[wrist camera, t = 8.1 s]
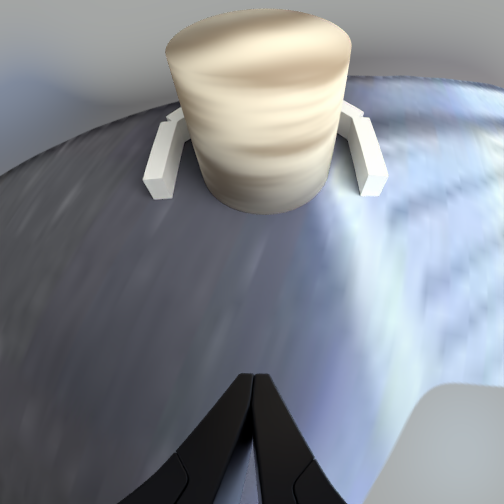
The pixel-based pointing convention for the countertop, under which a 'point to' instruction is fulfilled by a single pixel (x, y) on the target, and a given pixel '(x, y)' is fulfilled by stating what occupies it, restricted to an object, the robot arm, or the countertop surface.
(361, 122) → the white u-shaped bracket
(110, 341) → the countertop surface
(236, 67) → the birch canister
